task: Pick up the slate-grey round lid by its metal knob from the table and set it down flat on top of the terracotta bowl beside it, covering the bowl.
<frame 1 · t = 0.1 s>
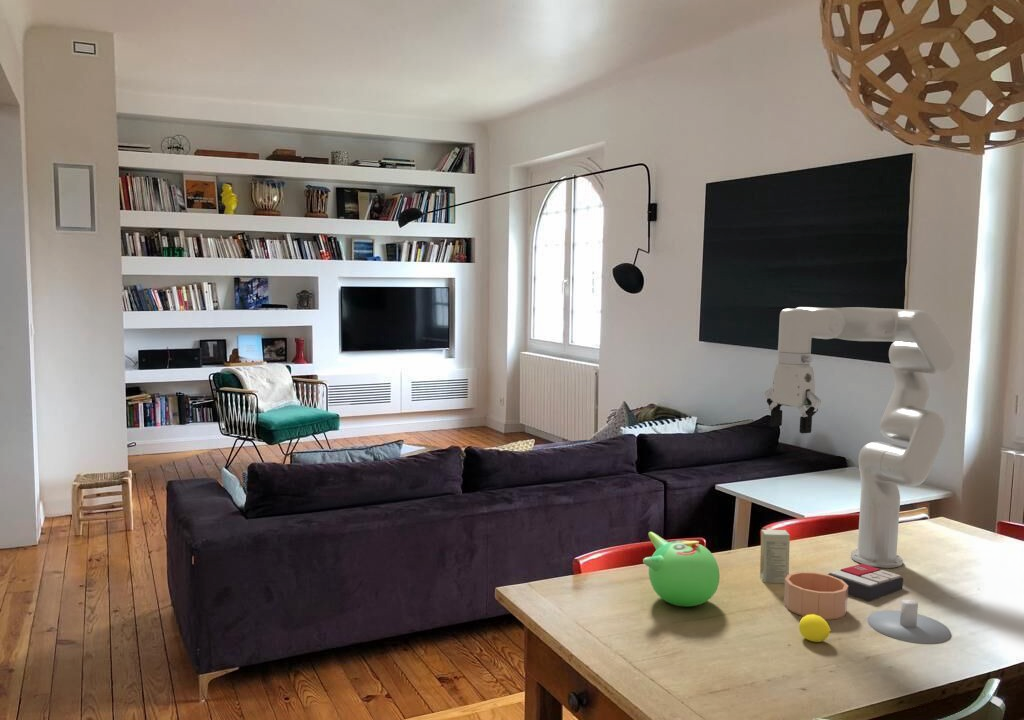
hand: (790, 429, 201), 37 cm above the table, tool pointing down, fingers open, 9 cm apart
skincare box: (773, 581, 203), on the table
toy bird: (680, 602, 188), on the table
calculator: (864, 590, 199), on the table
lemon: (813, 641, 169), on the table
lid: (907, 628, 177), on the table
bowl: (814, 608, 186), on the table
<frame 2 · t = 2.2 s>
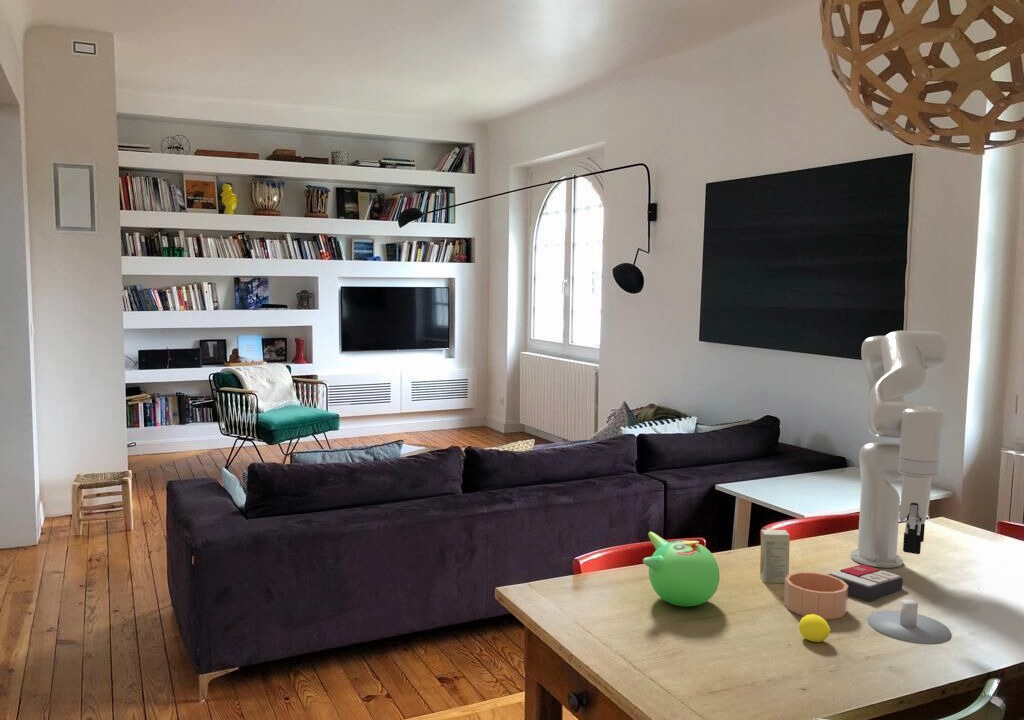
hand: (913, 546, 175), 18 cm above the table, tool pointing down, fingers open, 9 cm apart
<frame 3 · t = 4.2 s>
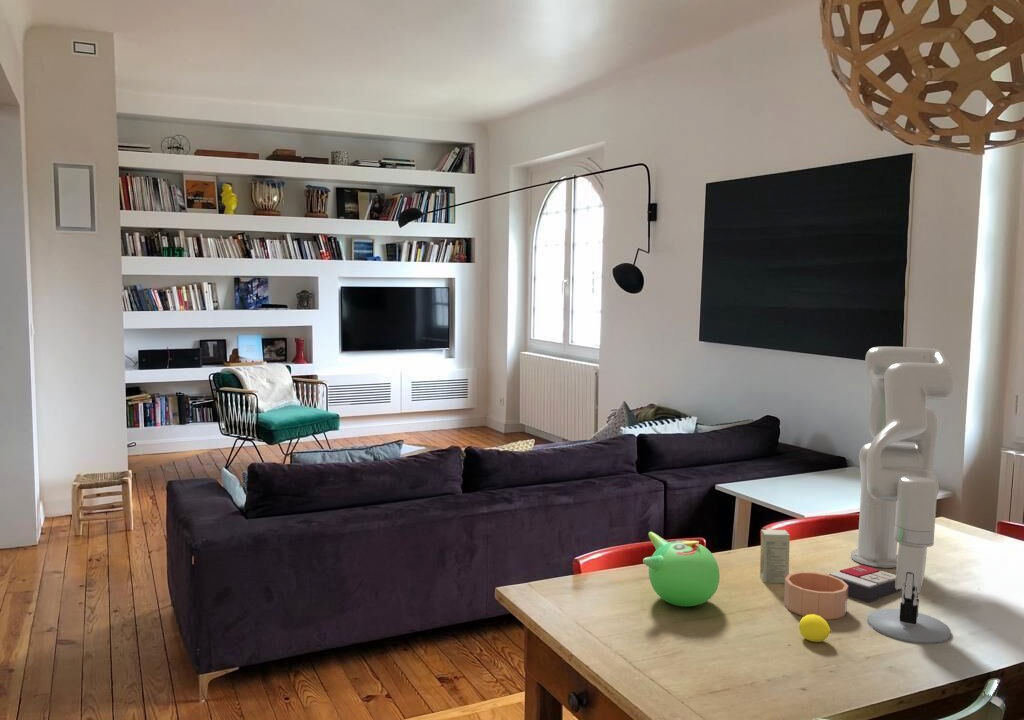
hand: (908, 618, 176), 2 cm above the table, tool pointing down, fingers closed on lid, 3 cm apart
lid: (908, 627, 177), on the table, touching gripper
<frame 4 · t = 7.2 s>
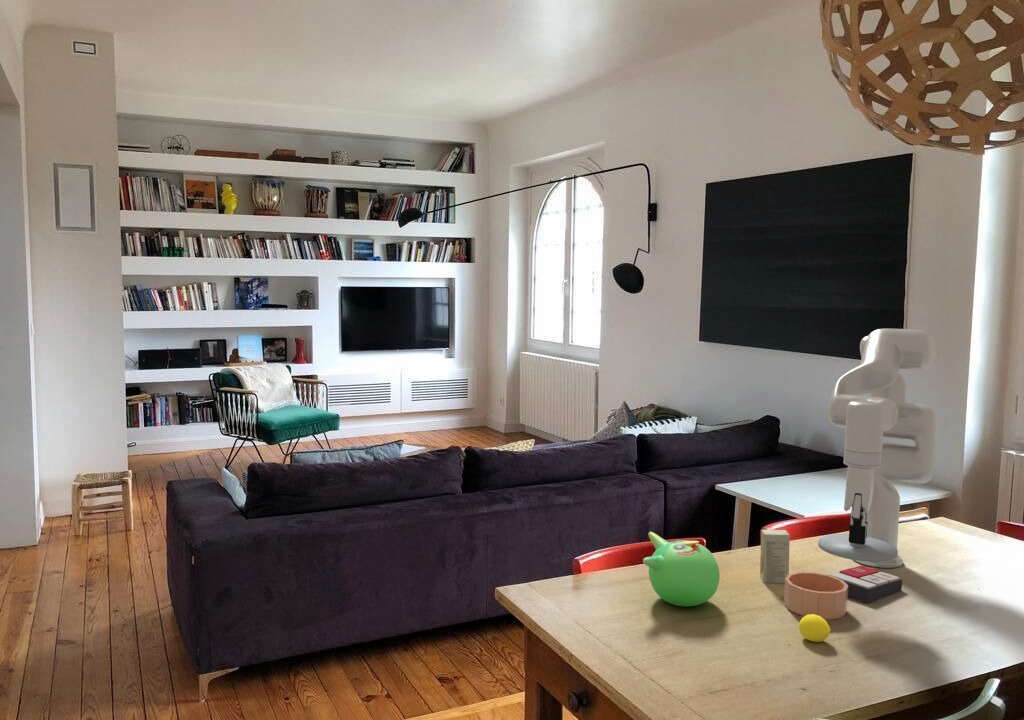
hand: (857, 540, 180), 17 cm above the table, tool pointing down, fingers closed on lid, 3 cm apart
lid: (857, 549, 181), point 15 cm above the table, touching gripper
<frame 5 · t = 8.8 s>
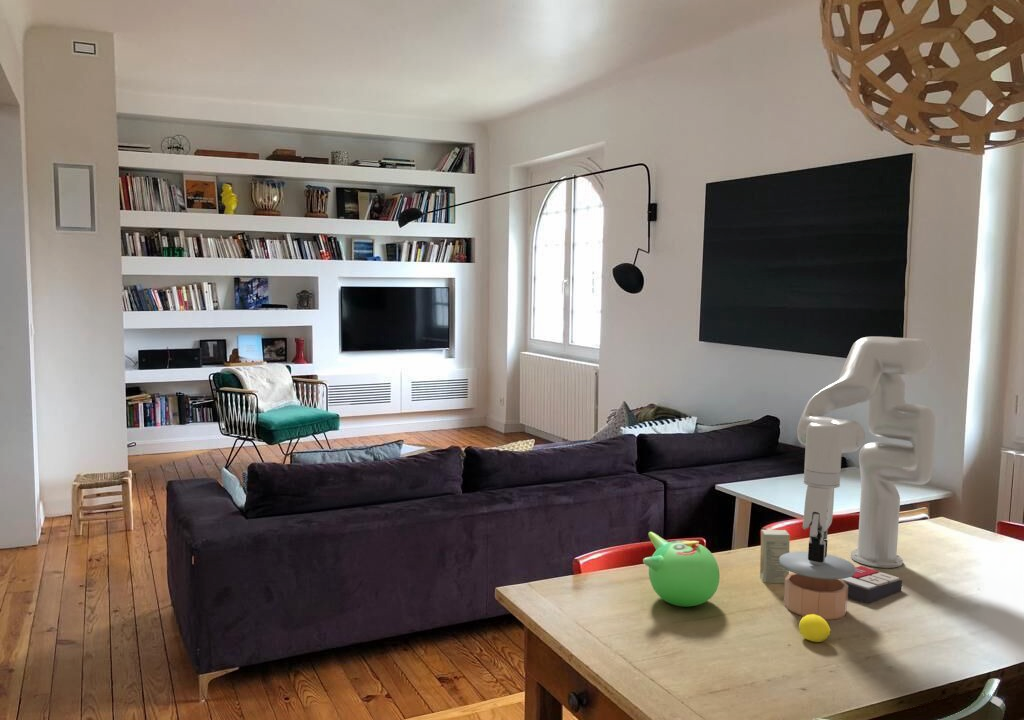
hand: (817, 557, 185), 12 cm above the table, tool pointing down, fingers closed on lid, 3 cm apart
lid: (816, 566, 185), point 10 cm above the table, touching gripper
when the fingers open (9 cm above the table, at t = 10.0 s): lid stays where it is, resting on bowl.
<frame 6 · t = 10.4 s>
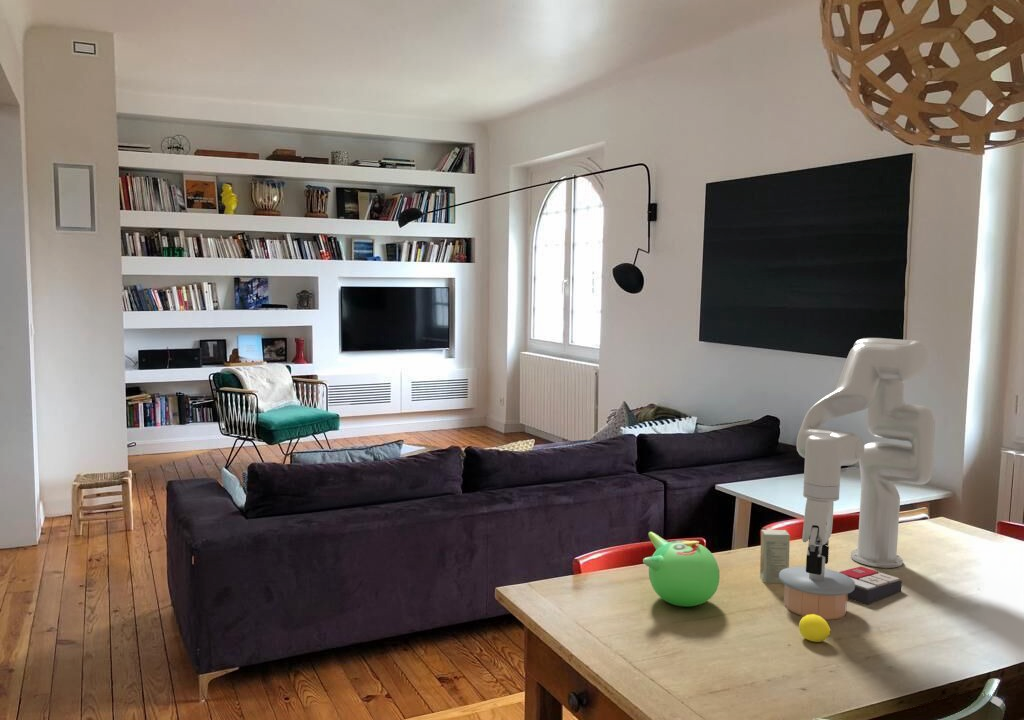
hand: (817, 567, 185), 9 cm above the table, tool pointing down, fingers open, 7 cm apart
lid: (816, 582, 186), point 6 cm above the table, touching bowl
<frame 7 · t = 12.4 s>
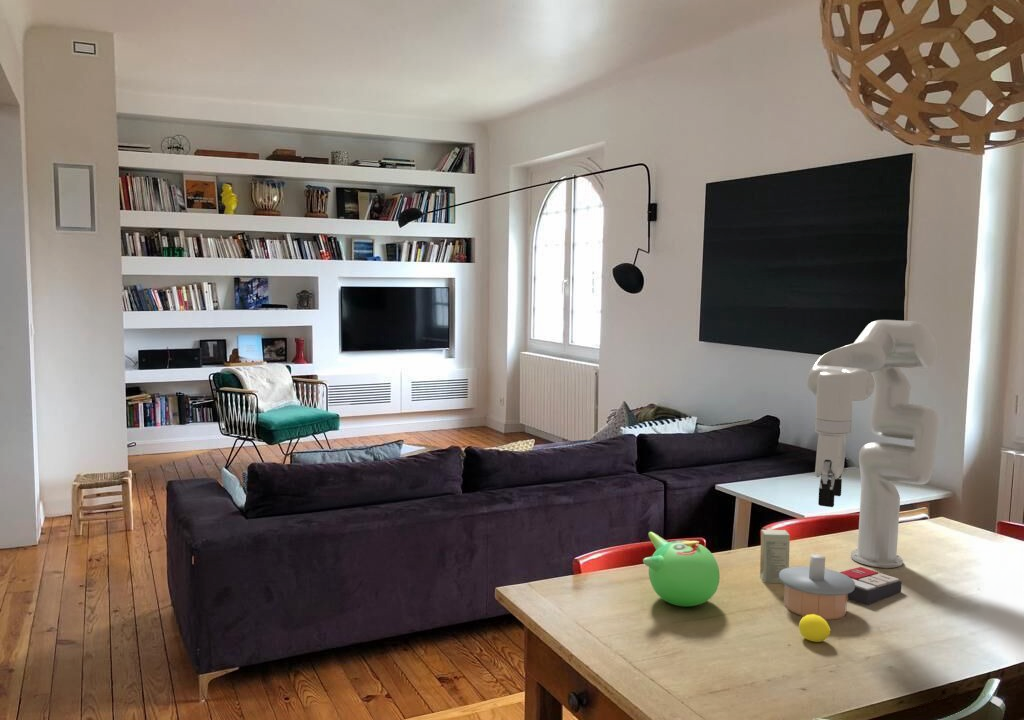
hand: (829, 500, 187), 24 cm above the table, tool pointing down, fingers open, 9 cm apart
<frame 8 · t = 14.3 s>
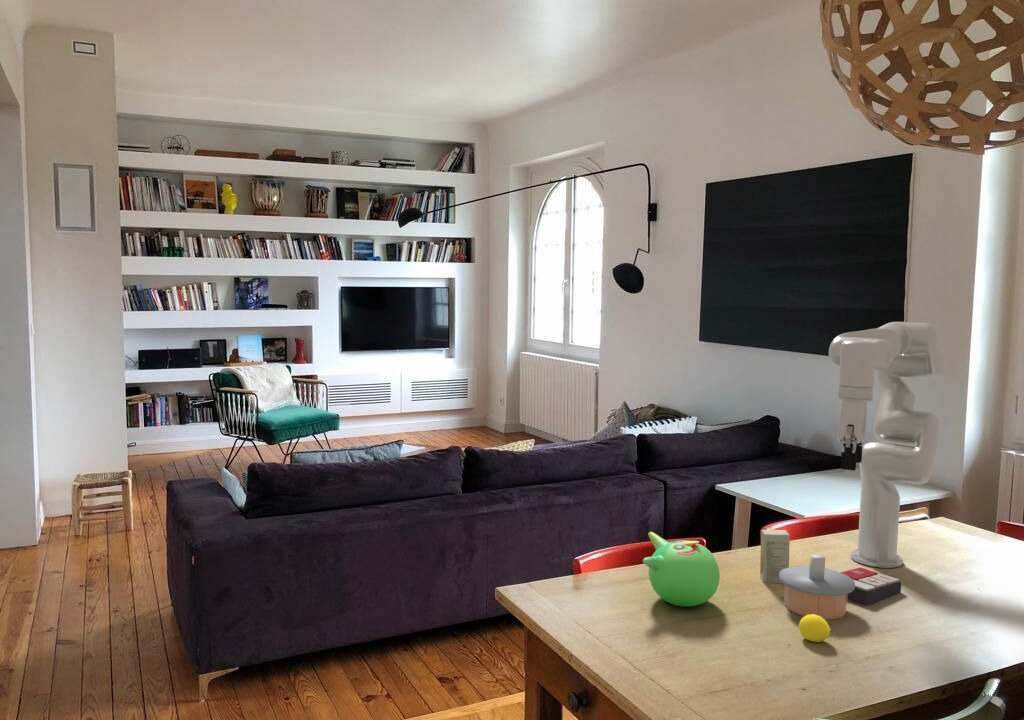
hand: (851, 465, 194), 30 cm above the table, tool pointing down, fingers open, 9 cm apart
at the end: lid 0.1 cm off-centre on the bowl, point 6.0 cm above the bowl's base; lid tilted 0°; the gripper is holding nothing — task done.
